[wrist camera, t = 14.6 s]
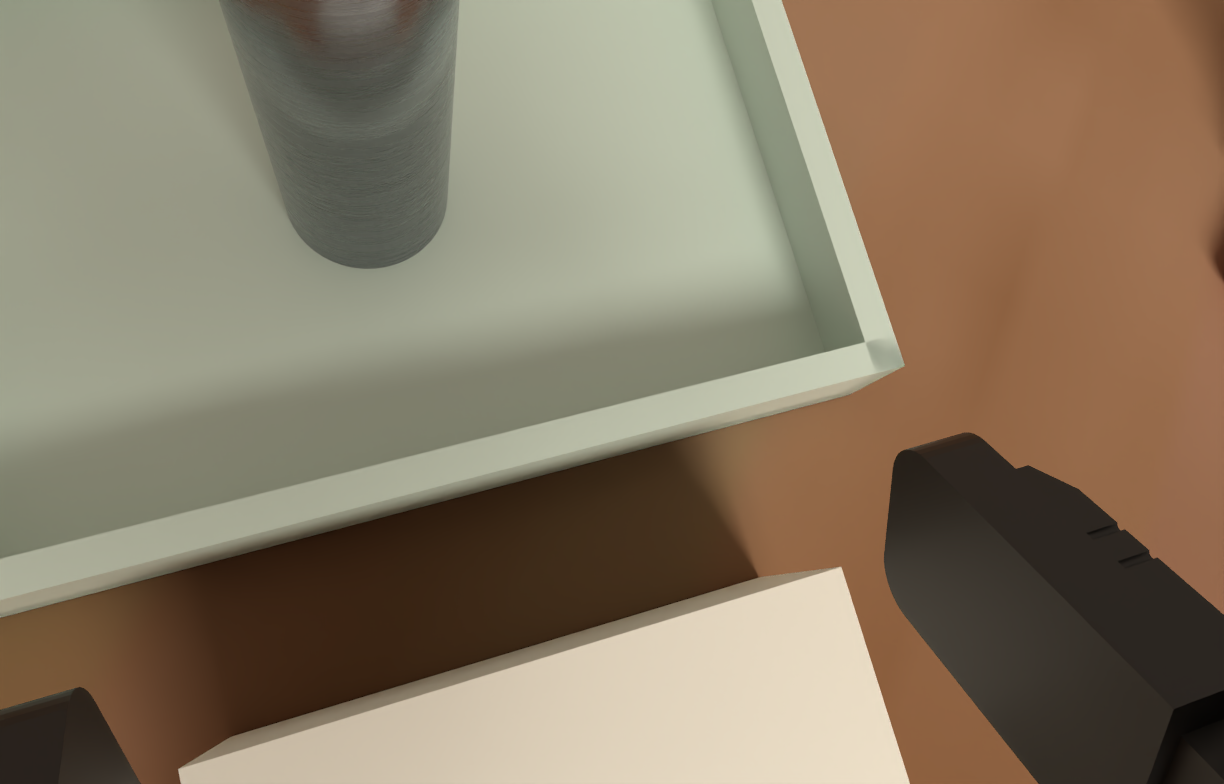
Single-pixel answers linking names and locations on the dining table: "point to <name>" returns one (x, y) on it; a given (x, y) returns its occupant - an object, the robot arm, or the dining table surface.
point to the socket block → (615, 706)
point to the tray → (397, 279)
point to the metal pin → (354, 117)
